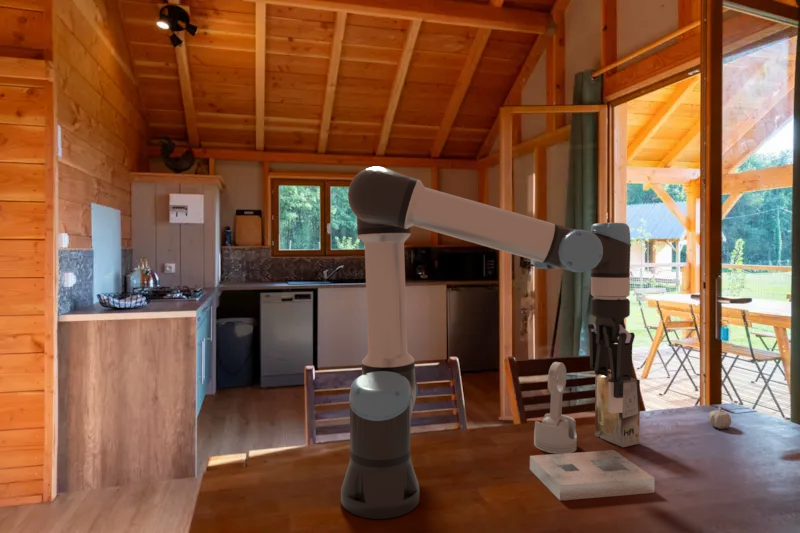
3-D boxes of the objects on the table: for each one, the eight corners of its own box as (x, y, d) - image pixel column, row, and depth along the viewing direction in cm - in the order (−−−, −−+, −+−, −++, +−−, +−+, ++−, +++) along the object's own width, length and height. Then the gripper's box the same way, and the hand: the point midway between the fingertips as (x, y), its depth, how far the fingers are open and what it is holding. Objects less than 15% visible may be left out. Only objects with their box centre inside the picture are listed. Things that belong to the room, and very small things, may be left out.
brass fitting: (605, 427, 103) (605, 378, 103) (594, 420, 107) (594, 374, 107) (622, 425, 103) (623, 377, 103) (611, 419, 107) (612, 373, 107)
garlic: (712, 422, 141) (712, 403, 141) (734, 427, 137) (734, 408, 137) (704, 427, 137) (704, 408, 137) (726, 432, 133) (727, 413, 133)
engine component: (527, 447, 123) (568, 457, 117) (528, 364, 122) (569, 370, 116) (544, 434, 131) (583, 443, 125) (545, 356, 131) (584, 361, 125)
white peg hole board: (559, 500, 97) (560, 485, 96) (529, 469, 110) (529, 455, 110) (654, 492, 100) (654, 477, 100) (613, 463, 113) (613, 450, 113)
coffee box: (640, 443, 125) (641, 379, 124) (622, 448, 122) (623, 382, 122) (611, 431, 133) (612, 371, 133) (593, 435, 131) (594, 374, 130)
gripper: (652, 301, 97) (651, 421, 97) (604, 293, 113) (603, 396, 114) (617, 301, 95) (616, 423, 96) (573, 294, 112) (572, 398, 113)
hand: (609, 408), depth 105 cm, fingers closed on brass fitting, 4 cm apart
